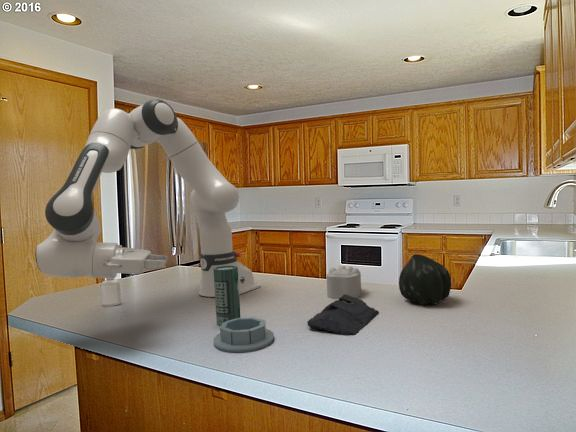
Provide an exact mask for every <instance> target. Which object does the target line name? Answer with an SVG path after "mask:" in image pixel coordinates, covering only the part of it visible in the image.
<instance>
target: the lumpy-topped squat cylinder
mask: <svg viewBox="0 0 576 432" xmlns="http://www.w3.org/2000/svg"><path fill="white" fill-rule="evenodd" d="M361 274H362V273H361V271H360V270H359V268H357V267H356V268H355V267H353V266H348V267H347V268H346V267H345V266H343V265H341V266H339V268H338V269H336V268H335V267H331V268H330V269H329V272H328V273H327V274H326V293H327V298H329V299H331V300H332V299H333V300H339V298H340V297H342V296H343V295H345V294H346V295H349V296H351V297H354V298H358V299H359V297H360V296H361V295H362V282H361V281H362V280H361V277H362V275H361Z"/></svg>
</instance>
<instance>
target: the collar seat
mask: <svg viewBox="0 0 576 432" xmlns="http://www.w3.org/2000/svg"><path fill="white" fill-rule="evenodd" d="M266 327H267V326H266V320H265V319H262V318H260V317H259V318H258V317H253V316H252V317H251V316H250V317H241V318H238V319H237V318H235V319H232V320H229V321H226V322H224V323H222V325H221V326H219V330H220V331H219V332H220V333H218V334H216V335H215V337H214V338H213V346H214V347H215V349H216V350H218V351H221V352H225V353H235V354H236V353H238V354H239V353H240V354H241V353H250V352H256V351H259V350H262V349H265V348H267V347H269V346H270V345H272V344H273V342H274V341H275V336H274V332H273V331H272V330H271V329H268V328H266Z"/></svg>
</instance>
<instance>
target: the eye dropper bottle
mask: <svg viewBox="0 0 576 432" xmlns="http://www.w3.org/2000/svg"><path fill="white" fill-rule="evenodd" d="M120 282H121V281H119V280H118V279H116V278H105V279H104V281H102V282H101V284H100V286H101V287H100V288H101V291H100V292H101V300H102V301H101V302H102V306H104V307H114V306H118V305H120V304H121V303H122V297H121V296H122V295H121V294H122V293H121V283H120Z"/></svg>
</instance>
